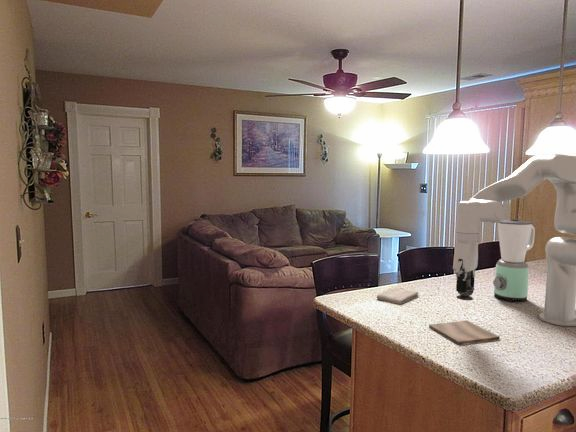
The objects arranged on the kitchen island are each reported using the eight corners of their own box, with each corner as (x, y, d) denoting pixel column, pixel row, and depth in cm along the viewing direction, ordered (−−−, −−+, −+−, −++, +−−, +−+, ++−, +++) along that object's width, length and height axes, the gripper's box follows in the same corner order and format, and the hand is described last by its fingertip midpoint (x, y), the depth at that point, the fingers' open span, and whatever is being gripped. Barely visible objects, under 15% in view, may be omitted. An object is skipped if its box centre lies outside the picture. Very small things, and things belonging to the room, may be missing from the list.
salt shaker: (458, 294, 150) (460, 261, 149) (476, 297, 147) (478, 263, 145) (453, 298, 146) (454, 263, 145) (471, 301, 142) (473, 266, 141)
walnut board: (466, 323, 157) (467, 320, 157) (499, 339, 142) (499, 336, 142) (429, 327, 153) (429, 324, 153) (458, 344, 138) (458, 341, 138)
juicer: (508, 304, 179) (513, 222, 175) (483, 296, 192) (487, 218, 188) (541, 300, 186) (547, 220, 182) (515, 292, 198) (520, 217, 194)
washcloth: (419, 296, 192) (419, 290, 191) (401, 306, 178) (401, 299, 178) (395, 291, 199) (395, 285, 199) (376, 300, 186) (376, 293, 186)
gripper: (466, 233, 153) (464, 283, 155) (445, 239, 140) (443, 292, 142) (488, 236, 148) (485, 287, 150) (469, 241, 135) (466, 297, 137)
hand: (465, 289), depth 146 cm, fingers closed on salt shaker, 5 cm apart
